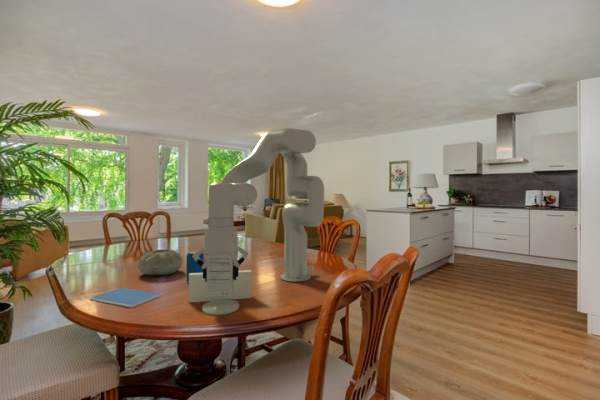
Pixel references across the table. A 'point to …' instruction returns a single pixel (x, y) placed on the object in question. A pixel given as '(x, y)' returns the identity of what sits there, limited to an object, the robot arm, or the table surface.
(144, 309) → the table surface
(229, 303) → the round plate
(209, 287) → the supplement box
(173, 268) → the grey rounded lump
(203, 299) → the painted screen
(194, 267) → the beverage can
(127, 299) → the blue flat slab
